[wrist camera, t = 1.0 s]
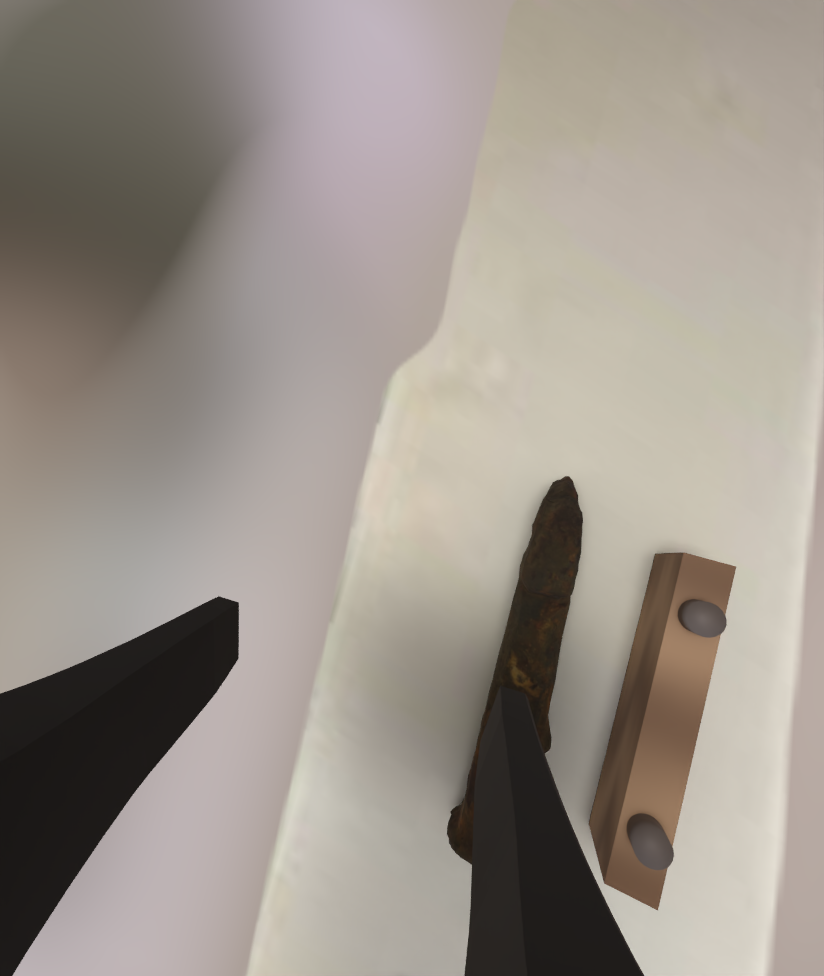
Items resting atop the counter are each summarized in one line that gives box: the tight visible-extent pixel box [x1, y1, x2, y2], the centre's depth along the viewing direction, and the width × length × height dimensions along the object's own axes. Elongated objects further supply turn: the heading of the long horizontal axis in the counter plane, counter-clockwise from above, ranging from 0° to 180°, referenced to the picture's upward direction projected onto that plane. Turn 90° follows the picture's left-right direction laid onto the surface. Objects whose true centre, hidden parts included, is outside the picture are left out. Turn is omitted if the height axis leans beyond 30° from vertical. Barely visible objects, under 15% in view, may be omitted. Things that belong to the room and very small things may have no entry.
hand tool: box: [447, 476, 583, 864], centre depth 21 cm, size 19×4×5 cm, turn 163°
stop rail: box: [589, 553, 736, 910], centre depth 19 cm, size 14×2×5 cm, turn 162°
